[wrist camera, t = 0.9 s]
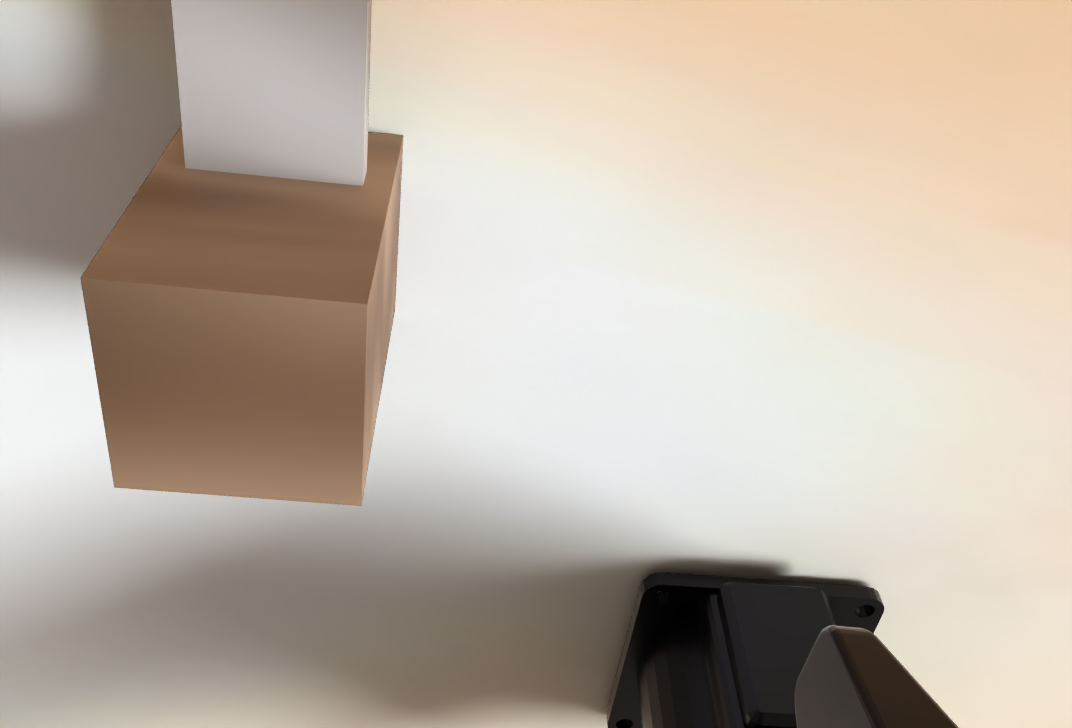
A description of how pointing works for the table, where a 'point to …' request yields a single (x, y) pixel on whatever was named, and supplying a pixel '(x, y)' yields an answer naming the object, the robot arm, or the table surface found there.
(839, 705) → the robot arm
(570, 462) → the table surface
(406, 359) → the table surface
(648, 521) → the table surface
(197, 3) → the brown grey l-shaped block
